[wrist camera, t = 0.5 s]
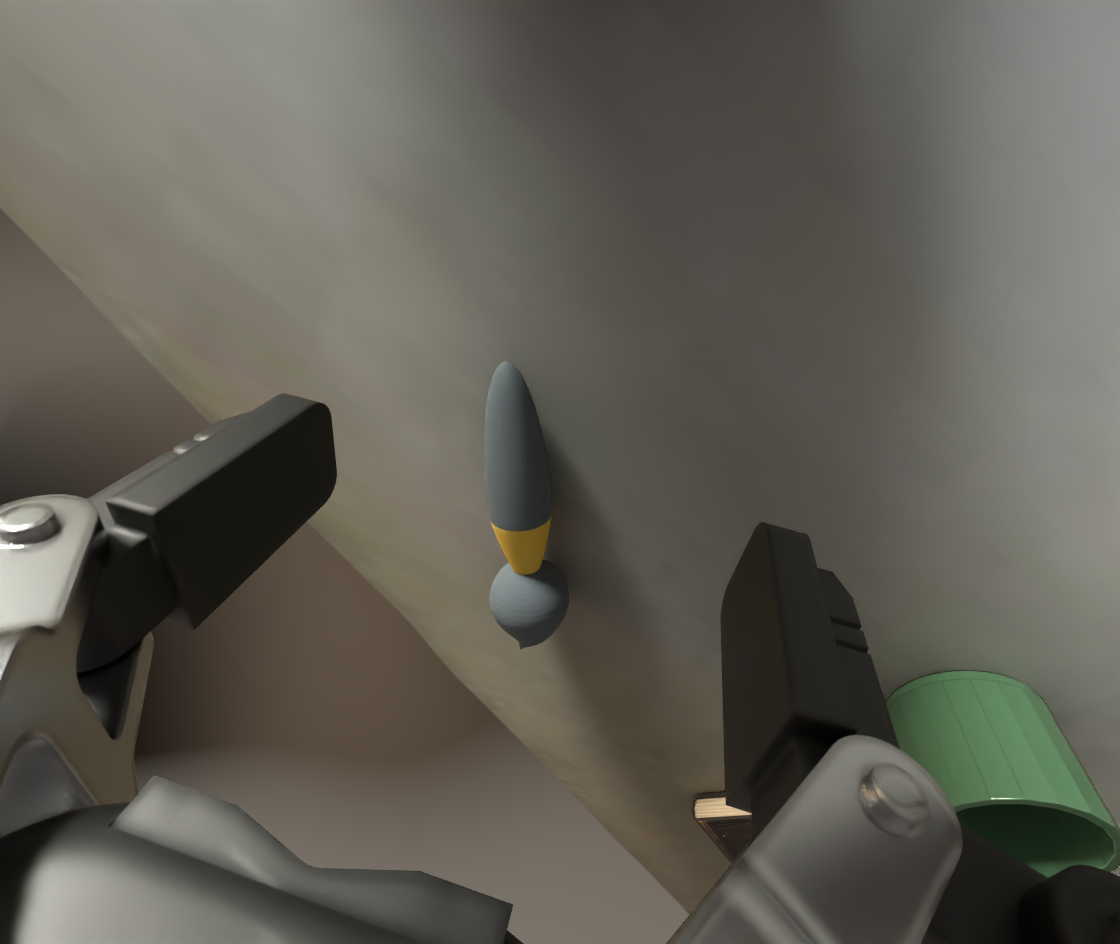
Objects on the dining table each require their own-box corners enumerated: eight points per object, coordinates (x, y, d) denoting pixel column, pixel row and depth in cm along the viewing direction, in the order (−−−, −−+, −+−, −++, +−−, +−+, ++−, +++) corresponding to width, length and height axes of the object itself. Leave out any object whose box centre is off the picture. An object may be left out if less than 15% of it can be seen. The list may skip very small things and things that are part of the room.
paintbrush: (448, 357, 28) (404, 396, 24) (535, 351, 27) (505, 391, 23) (518, 616, 39) (496, 674, 35) (584, 621, 37) (569, 682, 33)
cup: (927, 653, 32) (979, 779, 26) (1084, 698, 31) (1176, 839, 25) (858, 731, 37) (887, 851, 31) (990, 771, 36) (1048, 903, 30)
